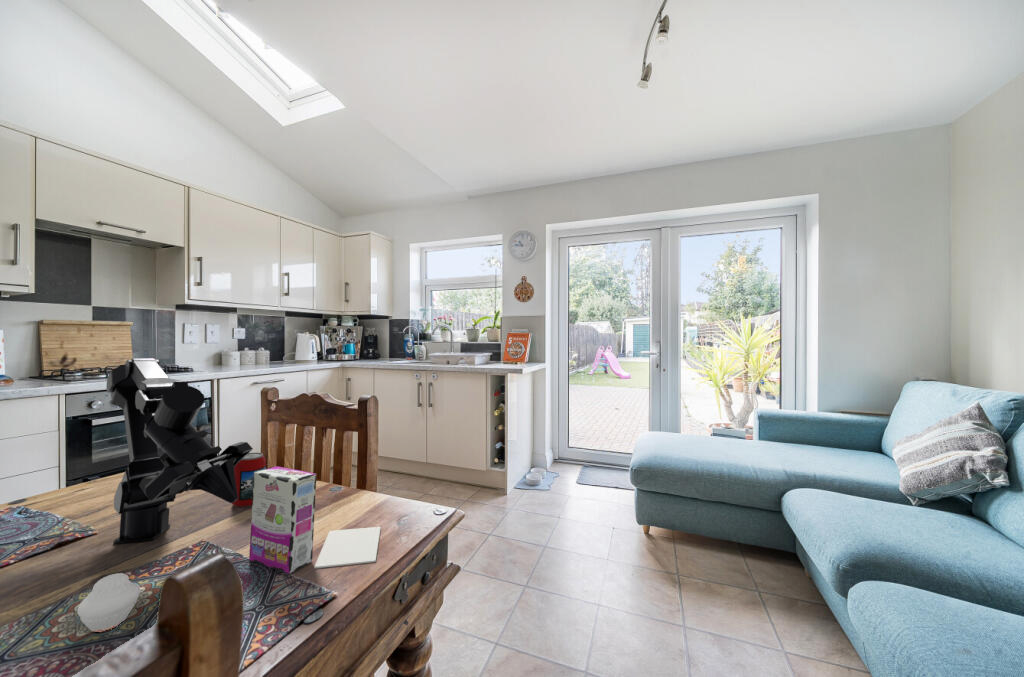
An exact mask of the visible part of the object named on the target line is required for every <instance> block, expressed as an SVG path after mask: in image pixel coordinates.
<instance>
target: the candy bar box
mask: <svg viewBox="0 0 1024 677" xmlns="http://www.w3.org/2000/svg"><path fill="white" fill-rule="evenodd" d="M316 490H317V473H314V472H309V471H304V470H300V469H299V470H298V469H292V468H288V467H281V466H277V465H276V466H272V467H269V468H266V469H264V470H261V471H257V472H254V483H253V500H252V506H251V521H250V535H249V536H250V539H249V540H250V541H249V554H248V555H249V556H248V558H249V559H248V560H249V561H250V560H251V561H250V562H254V563H257V564H259V565H263V566H265V567H268V568H271V569H274V570H277V571H280V572H282V573H283V572H284V573H286V574H288V575H290V574H293V573H295V572H297V571H298V570H301V568H304V567H305V566H307V565H309V564H310V563H312V562H313V552H314V551H313V548H314V531H315V530H314V528H315V527H314V526H315V511H316V510H315V509H316Z"/></svg>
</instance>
